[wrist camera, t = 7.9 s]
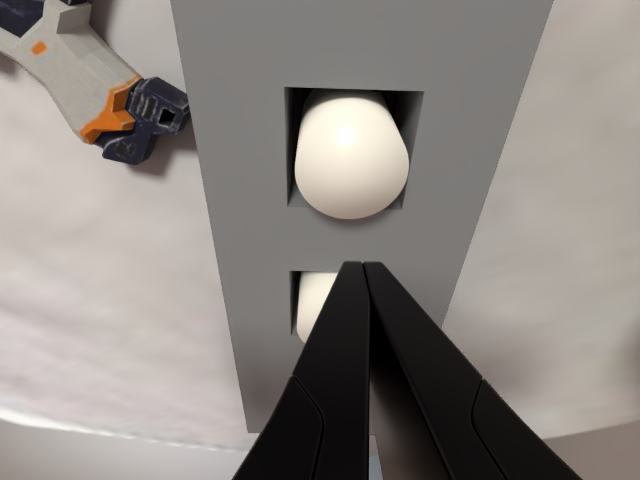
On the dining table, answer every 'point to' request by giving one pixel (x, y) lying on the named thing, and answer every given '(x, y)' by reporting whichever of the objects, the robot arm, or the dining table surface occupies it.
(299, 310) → the plug white mid
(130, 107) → the toy gun
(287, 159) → the socket board
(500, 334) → the dining table surface
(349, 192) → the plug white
